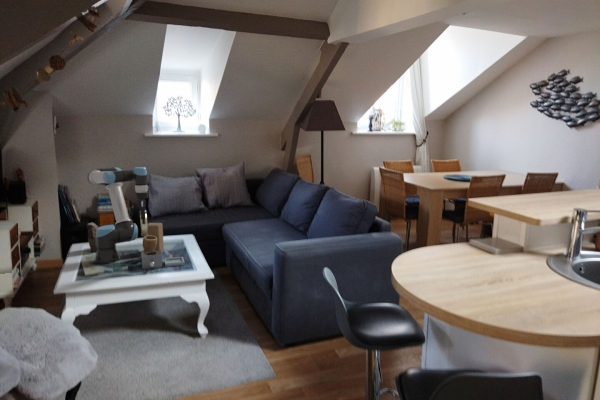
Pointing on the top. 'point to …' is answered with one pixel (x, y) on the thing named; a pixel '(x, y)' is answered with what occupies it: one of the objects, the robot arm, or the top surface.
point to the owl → (92, 236)
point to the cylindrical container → (145, 231)
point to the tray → (174, 261)
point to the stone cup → (149, 243)
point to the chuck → (151, 259)
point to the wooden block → (156, 234)
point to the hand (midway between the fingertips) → (144, 228)
